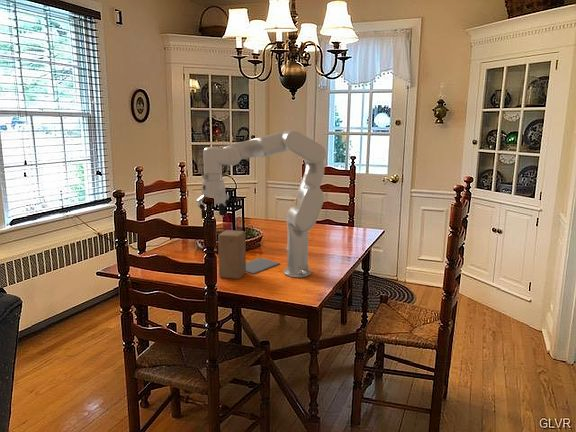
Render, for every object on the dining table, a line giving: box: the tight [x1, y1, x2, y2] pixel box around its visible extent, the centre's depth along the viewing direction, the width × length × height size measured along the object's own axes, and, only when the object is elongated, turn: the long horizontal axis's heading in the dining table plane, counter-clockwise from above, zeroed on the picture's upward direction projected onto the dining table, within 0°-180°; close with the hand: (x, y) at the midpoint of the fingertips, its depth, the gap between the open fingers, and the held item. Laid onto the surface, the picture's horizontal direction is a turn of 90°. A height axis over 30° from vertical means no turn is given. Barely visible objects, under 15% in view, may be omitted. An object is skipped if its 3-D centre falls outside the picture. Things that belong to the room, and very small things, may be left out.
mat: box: [245, 257, 281, 275], centre depth 220 cm, size 19×13×1 cm
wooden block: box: [217, 229, 247, 280], centre depth 205 cm, size 10×10×20 cm
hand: (213, 217), depth 194 cm, fingers open, 9 cm apart
